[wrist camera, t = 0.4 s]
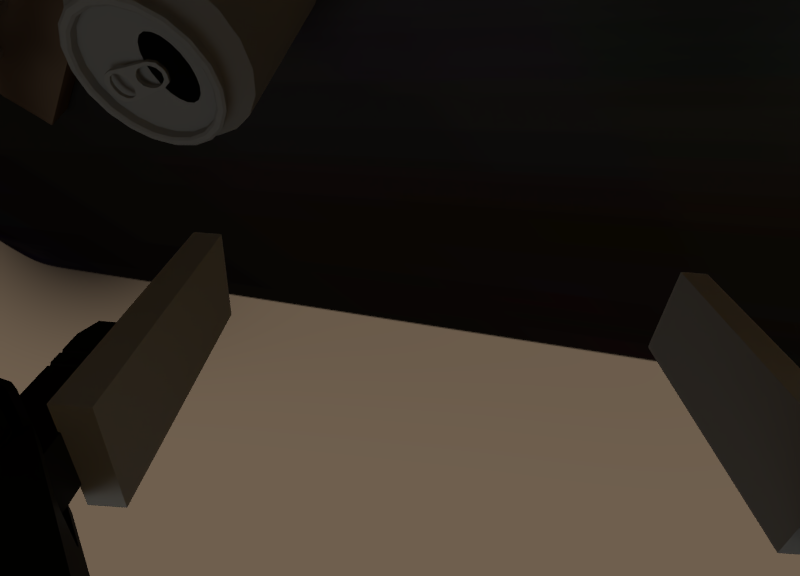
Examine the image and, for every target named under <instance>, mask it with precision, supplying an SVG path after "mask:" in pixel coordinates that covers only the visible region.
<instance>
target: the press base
mask: <svg viewBox="0 0 800 576" xmlns="http://www.w3.org/2000/svg"><path fill="white" fill-rule="evenodd" d="M63 8H64V4H63V0H0V94H1V95H3V96H4V97H6V98H8V99H9V100H11V101H13V102H14V103H16V104H18V105H19V106H21V107H23V108H24V109H26V110H28V111H29V112H31V113H33V114H34V115H36V116H38V117H39V118H41V119H43V120H44V121H46V122H48V123H49V124H51V125H53V123H54V122H55V121H56V120H57V119H58V118H59V117H60V116H61V115H62V114H63V113H64V111H65V110H66V109H67V108H68V105H69V101H70V97H71V94H72V90H73V86H74V82H75V79H76V76H75V75H74V73H73V72H72V70H71V68H70V66H69V64H68V62H67V60H66V57H65V55H64V53H63V51H62V48H61V46H60V38H59V30H58V22H59V19H60V17H61V14H62V11H63Z"/></svg>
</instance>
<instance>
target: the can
mask: <svg viewBox="0 0 800 576" xmlns="http://www.w3.org/2000/svg"><path fill="white" fill-rule="evenodd" d="M315 3H316V0H63V4H64V8H63V11H62V14H61V17H60V19H59V22H58V30H59V38H60V46H61V48H62V51H63V53H64V55H65V57H66V60H67V62H68V64H69V66H70V68H71V70H72V72H73V73H74V75H75V76H76V77H77V79H78V80H79V81H80V83H81V84H82V86H83V87H84V88H85V90H86V91H87V92H88V94H90V95H91V96H92V97H93V98H94V99H95V100H96V101H97V102H98V103H99V104H100V105H101V106H102V107H103V108H104V109H105V110H106V111H107V112H108V113H110V114H111V115H113V116H114V117H115V118H117V119H118V120H120V121H121V122H123V123H124V124H125V125H127V126H128V127H130V128H132V129H134V130H136V131H138V132H140V133H142V134H144V135H146V136H148V137H150V138H152V139H156V140H159V141H163V142H167V143H171V144H175V145H198V144H201V143H204V142H206V141H209V140H212V139H213V138H214V137H215V136H216V135H220V134H223V133H226V132H229V131H231V130H234V129H237V128H238V127H239V126H240V125H241V124H242V123H243V122H244V121H245V120H246V119H247V118H248V116H249V115H250V114H251V112H252V111H253V109H254V107H255V105H256V104H257V102H258V100H259V99H260V97H261V95H262V93H263V92H264V90H265V88H266V87H267V85H268V83H269V82H270V80H271V78H272V76H273V75H274V73H275V71H276V70H277V68H278V66H279V65H280V63H281V61H282V59H283V58H284V56H285V54H286V53H287V51H288V49H289V47H290V46H291V44H292V42H293V41H294V39H295V37H296V36H297V34H298V32H299V30H300V29H301V27H302V25H303V24H304V22H305V20H306V19H307V17H308V15H309V13H310V12H311V10H312V8H313V7H314V5H315Z"/></svg>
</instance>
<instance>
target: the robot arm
mask: <svg viewBox="0 0 800 576" xmlns="http://www.w3.org/2000/svg"><path fill="white" fill-rule="evenodd" d="M230 316H231V308H230V300H229V292H228V284H227V276H226V267H225V259H224V251H223V243H222V235H221V234H211V233H199V232H194V233H193V234H192V235H191V236H190V237H189V239H188V240H187V241H186V242H185V243H184V244H183V246H182V247H181V248H180V249H179V250H178V251H177V253H176V254H175V255H174V256H173V257H172V258H171V260H170V261H169V262H168V263H167V264H166V265H165V267H164V268H163V269H162V270H161V271H160V272H159V274H158V275H157V276H156V277H155V278H154V279H153V281H152V282H151V283H150V284H149V285H148V286H147V288H146V289H145V290H144V291H143V292H142V293H141V295H140V296H139V297H138V298H137V299H136V300H135V301H134V303H133V304H132V305H131V306H130V307H129V308H128V310H127V311H126V312H125V313H124V314H123V316H122V317H121V318H120V319H119V320H118V321H117V322H105V321H98V322H97V323H95V324H93V325H92V326H90V327H88V328H87V329H85V330H83V331H82V332H80V333H78V334H77V335H76V336H75V337H74V338H73V339H72V340H71V341H70V342H69V343H68V344H67V346H66V347H65V348H64V349H63V352H62V353H59V354H58V355H57V356H56V358H54V360H53V361H51V365H50V366H47V367H46V368H45V369H44V370H43V371H42V372H41V373H40V374H39V375H38V376H37V377H36V379H35V380H34V381H33V382H32V383H31V384H30V385H29V386H28V387H27V388H26V389H25V390H24V391H23V392H22V393H21V394H20V395H19V393H18V391H17V389H16V388H15V386H14V385H13V384H12V382H10V381H7V380H4V379H1V378H0V576H90V575H89V572H88V568H87V565H86V561H85V557H84V554H83V551H82V547H81V543H80V540H79V536H78V533H77V529H76V526H75V522H74V519H73V515H72V512H71V510H70V508H69V506H68V504H69V503H70V501H71V500H72V498H73V497H74V495H75V494H76V492H77V491H78V489H79V488H80V487H81V489H82V492H83V494H84V497H85V499H86V501H87V504H88V505H98V506H113V507H127V506H128V505H129V503H130V501H131V499H132V497H133V495H134V494H135V492H136V490H137V488H138V486H139V484H140V482H141V481H142V479H143V477H144V475H145V473H146V471H147V470H148V468H149V466H150V464H151V462H152V460H153V458H154V457H155V455H156V453H157V451H158V449H159V447H160V445H161V444H162V442H163V440H164V438H165V436H166V434H167V432H168V431H169V429H170V427H171V425H172V423H173V421H174V420H175V418H176V416H177V414H178V412H179V410H180V408H181V407H182V405H183V403H184V401H185V399H186V397H187V395H188V394H189V392H190V390H191V388H192V386H193V384H194V382H195V381H196V378H197V377H198V375H199V373H200V371H201V369H202V368H203V366H204V364H205V362H206V360H207V358H208V357H209V354H210V353H211V351H212V349H213V347H214V345H215V344H216V342H217V340H218V338H219V336H220V334H221V332H222V330H223V329H224V327H225V325H226V323H227V321H228V319H229V318H230ZM648 348H649V349H650V351H651V353H652V354H653V356H654V357H655V359H656V361H657V362H658V364H659V365H660V367H661V368H662V370H663V372H664V373H665V375H666V376H667V378H668V379H669V381H670V383H671V384H672V386H673V387H674V389H675V391H676V392H677V394H678V395H679V397H680V399H681V400H682V402H683V403H684V405H685V406H686V408H687V409H688V411H689V413H690V415H691V416H692V417H693V419H694V421H695V422H696V424H697V426H698V427H699V429H700V430H701V432H702V433H703V435H704V437H705V438H706V440H707V442H708V443H709V444H710V446H711V448H712V449H713V451H714V452H715V454H716V456H717V457H718V459H719V461H720V462H721V464H722V465H723V467H724V468H725V470H726V472H727V473H728V475H729V476H730V478H731V480H732V481H733V483H734V484H735V486H736V488H737V489H738V491H739V492H740V494H741V495H742V497H743V499H744V500H745V502H746V503H747V505H748V507H749V508H750V510H751V511H752V513H753V515H754V516H755V518H756V519H757V521H758V522H759V524H760V526H761V527H762V529H763V530H764V532H765V534H766V535H767V537H768V538H769V540H770V542H771V543H772V545H773V546H774V548H775V549H776V551H777V553H786V554H800V368H799V367H798V366H797V365H796V364H795V363H794V362H793V361H792V360H791V359H790V358H789V357H788V356H787V355H786V354H785V353H784V352H783V351H782V350H781V349H780V348H779V347H778V346H777V345H776V344H775V343H774V342H773V341H772V340H771V339H770V338H769V337H768V336H767V334H766V333H765V332H764V331H763V330H762V329H761V328H760V327H759V326H758V325H757V324H756V323H755V322H754V321H753V320H752V319H751V318H750V317H749V316H748V315H747V314H746V313H745V312H744V311H743V310H742V309H741V308H740V307H739V306H738V305H737V304H736V303H735V302H734V301H733V300H732V299H731V298H730V297H729V296H728V295H727V294H726V293H725V292H724V291H723V290H722V289H721V288H720V287H719V286H718V285H717V284H716V283H715V282H714V281H713V280H712V278H711V277H710V276H709V275H708V274H699V273H687V272H681V273H680V275H679V278H678V280H677V282H676V285H675V287H674V289H673V291H672V294H671V296H670V298H669V301H668V303H667V305H666V307H665V310H664V312H663V314H662V316H661V319H660V321H659V323H658V326H657V328H656V330H655V332H654V335H653V337H652V339H651V342H650V344H649V346H648Z"/></svg>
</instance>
